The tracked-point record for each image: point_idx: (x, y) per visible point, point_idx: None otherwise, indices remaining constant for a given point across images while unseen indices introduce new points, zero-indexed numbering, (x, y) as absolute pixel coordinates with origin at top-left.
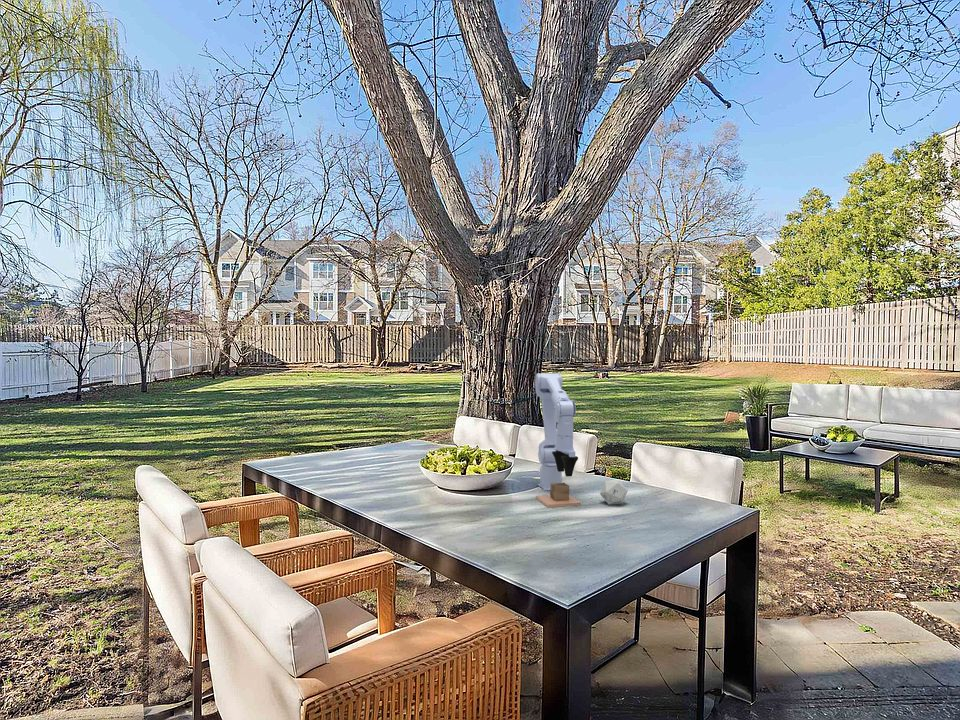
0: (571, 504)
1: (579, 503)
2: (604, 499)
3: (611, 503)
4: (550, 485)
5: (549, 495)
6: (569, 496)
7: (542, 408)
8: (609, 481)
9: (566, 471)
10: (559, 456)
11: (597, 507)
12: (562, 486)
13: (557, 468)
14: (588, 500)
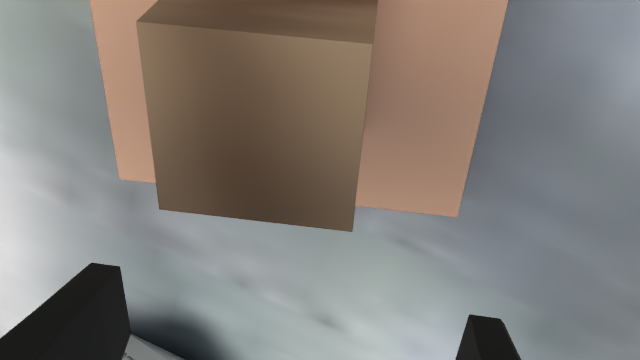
0: (110, 83)
1: (121, 159)
2: (148, 348)
3: None
4: (371, 31)
5: (474, 7)
6: None
7: None
8: None
9: (30, 327)
10: None
11: (61, 240)
12: (150, 124)
13: (491, 353)
14: (270, 278)
